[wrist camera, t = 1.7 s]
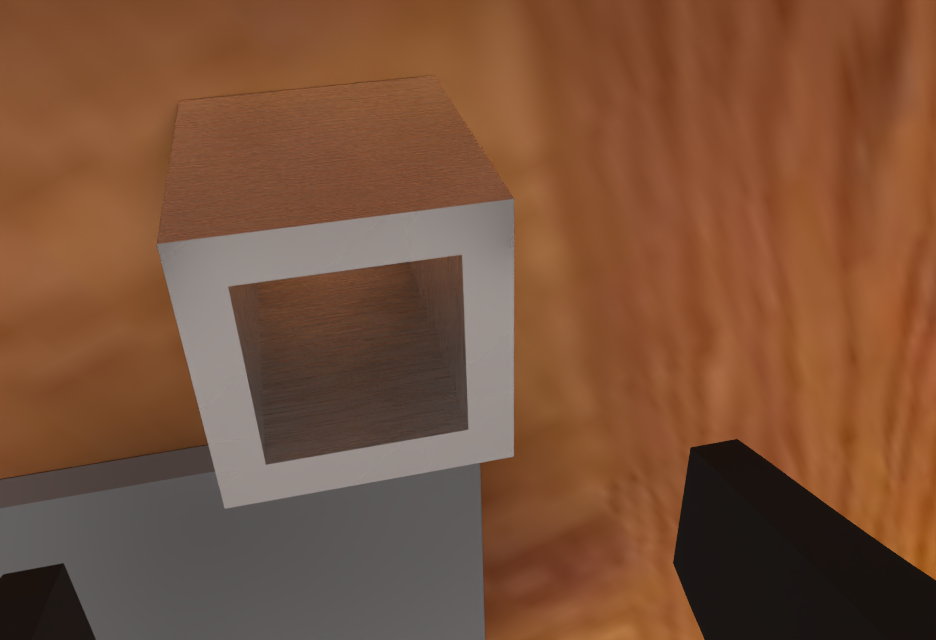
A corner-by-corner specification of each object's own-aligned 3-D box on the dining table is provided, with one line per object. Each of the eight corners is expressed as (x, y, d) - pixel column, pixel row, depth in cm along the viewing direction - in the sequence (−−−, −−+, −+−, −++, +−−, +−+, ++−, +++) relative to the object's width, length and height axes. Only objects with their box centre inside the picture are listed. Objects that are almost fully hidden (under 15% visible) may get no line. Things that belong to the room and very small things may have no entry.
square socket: (226, 318, 19) (224, 508, 14) (179, 100, 16) (156, 244, 12) (444, 287, 20) (513, 456, 15) (434, 75, 17) (514, 198, 12)
